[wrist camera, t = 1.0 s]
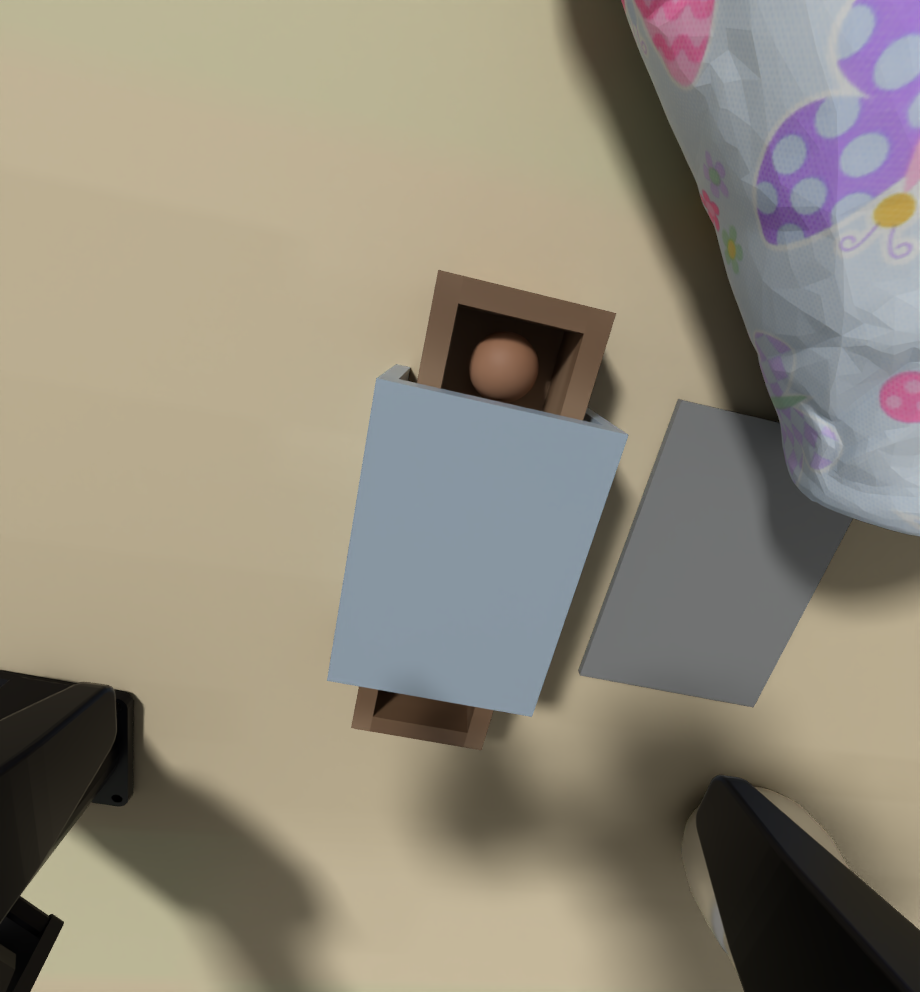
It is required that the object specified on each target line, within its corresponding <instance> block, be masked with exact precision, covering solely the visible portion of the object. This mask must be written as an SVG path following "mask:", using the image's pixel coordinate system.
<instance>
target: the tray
mask: <svg viewBox="0 0 920 992" xmlns="http://www.w3.org/2000/svg"><path fill="white" fill-rule="evenodd" d="M615 315H616V313H613V312H609V311H605V310H601V309H597V308H592V307H588V306H584V305H580V304H576V303H572V302H568V301H564V300H560V299H556V298H551V297H547V296H543V295H539V294H535V293H531V292H527V291H523V290H519V289H515V288H510V287H506V286H502V285H498V284H494V283H490V282H486V281H482V280H478V279H474V278H469V277H465V276H461V275H457V274H453V273H449V272H445V271H441V270H438V275H437V280H436V285H435V290H434V296H433V301H432V306H431V311H430V317H429V322H428V327H427V332H426V338H425V343H424V348H423V353H422V359H421V364H420V369H419V374H418V380H417V383H418V384H423V385H427V386H432V387H436V388H441V389H445V390H450V391H454V392H458V393H463V394H467V395H472V396H476V397H481V398H485V399H489V400H494V401H498V402H503V403H507V404H512V405H516V406H520V407H525V408H529V409H534V410H538V411H543V412H547V413H551V414H556V415H560V416H565V417H569V418H574V419H578V420H583V419H584V416H585V413H586V409H587V406H588V403H589V400H590V396H591V393H592V390H593V387H594V383H595V380H596V377H597V374H598V370H599V367H600V364H601V361H602V357H603V354H604V351H605V348H606V344H607V341H608V338H609V335H610V332H611V328H612V325H613V322H614V319H615ZM493 711H494V710H490V709H485V708H479V707H473V706H468V705H462V704H456V703H451V702H445V701H439V700H434V699H428V698H422V697H417V696H411V695H405V694H400V693H394V692H389V691H383V690H377V689H372V688H366V687H360V686H359V689H358V695H357V700H356V705H355V710H354V716H353V721H352V726H351V728H354V729H360V730H366V731H372V732H378V733H384V734H389V735H395V736H401V737H407V738H413V739H419V740H425V741H431V742H436V743H442V744H448V745H454V746H460V747H466V748H472V749H477V750H482V747H483V743H484V740H485V737H486V734H487V730H488V727H489V724H490V721H491V717H492V714H493Z"/></svg>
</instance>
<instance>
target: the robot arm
mask: <svg viewBox="0 0 920 992" xmlns="http://www.w3.org/2000/svg"><path fill="white" fill-rule="evenodd" d="M118 703H119V704H118ZM132 795H133V699H132V697H131V696H130V695H129V694H127V693H125V692H122V691H117V690H114V689H113V688H112V687H111V686H109V685H104V684H97V683H90V682H81V683H77V684H75V683H70V682H64V681H58V680H52V679H46V678H40V677H34V676H28V675H22V674H17V673H11V672H5V671H0V992H30V991H31V989H32V987H33V985H34V983H35V981H36V979H37V977H38V975H39V973H40V971H41V969H42V967H43V965H44V963H45V961H46V959H47V957H48V955H49V953H50V951H51V949H52V947H53V945H54V943H55V941H56V939H57V937H58V934H59V932H60V930H61V928H62V926H63V924H64V921H62V920H61V919H59V918H58V917H56V916H55V915H53V914H50V915H49V916H48V915H47V914H46V913H44V912H43V911H41V910H40V909H38V908H37V907H35V906H34V905H32V904H31V903H30V902H28V901H27V900H25V899H24V898H22V897H21V896H20V895H21V894H22V892H23V891H24V889H25V888H26V887H27V885H28V884H29V883H30V882H31V880H32V879H33V878H34V876H35V875H36V874H37V872H38V871H39V870H40V868H41V867H42V866H43V865H44V863H45V862H46V861H47V859H48V858H49V857H50V855H51V854H52V853H53V851H54V850H55V849H56V847H57V846H58V845H59V844H60V842H61V841H62V840H63V838H64V837H65V836H66V834H67V833H68V832H69V830H70V829H71V828H72V827H73V825H74V824H75V823H76V821H77V820H78V819H79V817H80V816H81V815H82V813H83V812H84V811H85V809H86V808H87V807H88V806H89V804H90V803H91V802H93V803H99V804H106V805H112V806H124V805H125V804H127V802H128V801H129V800H130V798H131V797H132ZM696 828H697V833H698V836H699V840H700V844H701V848H702V851H703V855H704V859H705V862H706V866H707V870H708V873H709V877H710V881H711V885H712V888H713V892H714V896H715V899H716V903H717V907H718V910H719V914H720V918H721V922H722V925H723V929H724V932H725V936H726V939H727V942H728V946H729V949H730V952H731V955H732V958H733V961H734V964H735V967H736V970H737V973H738V976H739V978H740V981H741V984H742V987H743V990H744V992H920V930H919V929H918V928H917V927H915V926H914V925H913V924H912V923H911V922H910V921H909V920H907V919H906V918H905V917H904V916H903V915H902V914H900V913H899V912H898V911H897V910H896V909H895V908H893V907H892V906H891V905H890V904H889V903H888V902H887V901H885V900H884V899H883V898H882V897H881V896H880V895H878V894H877V893H876V892H875V891H874V890H873V889H871V888H870V887H869V886H868V885H867V884H866V883H865V882H863V881H862V880H861V879H860V878H859V877H858V876H856V875H855V874H854V873H853V872H852V871H851V870H850V869H848V868H847V867H846V866H845V865H844V864H843V863H841V862H840V861H839V860H838V859H837V858H836V857H834V856H833V855H832V854H831V853H830V852H829V851H828V850H826V849H825V848H824V847H823V846H822V845H821V844H819V843H818V842H817V841H816V840H815V839H814V838H812V837H811V836H810V835H809V834H808V833H807V832H806V831H804V830H803V829H802V828H801V827H800V826H799V825H797V824H796V823H795V822H794V821H793V820H792V819H791V818H789V817H788V816H787V815H786V814H785V813H784V812H782V811H781V810H780V809H779V808H778V807H777V806H775V805H774V804H773V803H772V802H771V801H770V800H769V799H767V798H766V797H765V796H764V795H763V794H762V793H760V792H759V791H758V790H757V789H756V788H755V787H754V786H752V785H751V784H750V783H749V782H747V781H746V780H744V779H742V778H738V777H731V776H724V775H717V776H716V777H714V778H713V779H712V781H711V783H710V785H709V787H708V789H707V791H706V793H705V795H704V797H703V799H702V801H701V804H700V806H699V808H698V810H697V814H696Z"/></svg>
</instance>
